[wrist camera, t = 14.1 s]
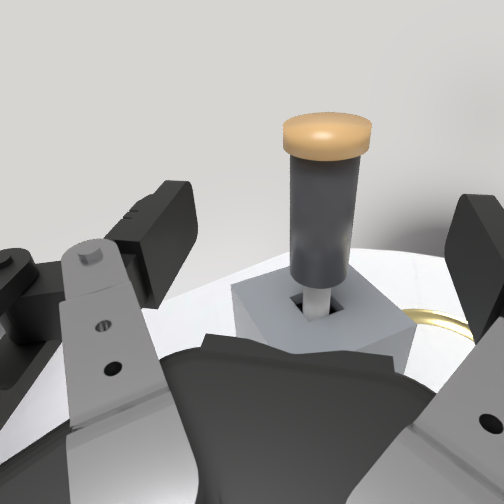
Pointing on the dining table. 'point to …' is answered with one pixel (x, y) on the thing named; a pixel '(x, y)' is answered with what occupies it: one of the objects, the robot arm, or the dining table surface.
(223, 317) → the dining table surface
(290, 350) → the column
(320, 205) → the plunger
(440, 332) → the dining table surface
